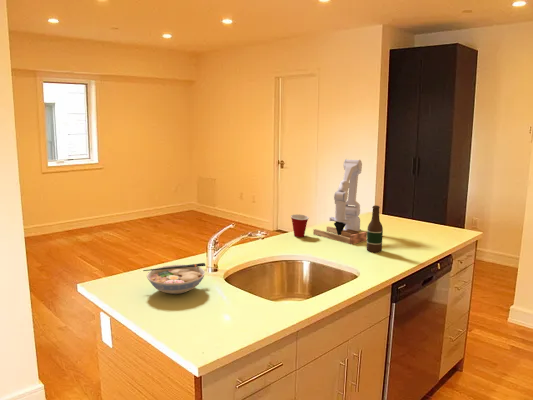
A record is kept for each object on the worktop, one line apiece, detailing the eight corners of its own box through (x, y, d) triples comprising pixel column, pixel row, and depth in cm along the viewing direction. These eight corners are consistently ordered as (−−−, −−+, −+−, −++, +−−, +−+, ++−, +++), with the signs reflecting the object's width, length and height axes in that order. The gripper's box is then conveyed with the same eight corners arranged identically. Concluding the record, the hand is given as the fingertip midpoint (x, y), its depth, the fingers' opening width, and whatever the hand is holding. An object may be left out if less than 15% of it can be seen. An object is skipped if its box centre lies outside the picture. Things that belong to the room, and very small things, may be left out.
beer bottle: (382, 253, 235) (384, 207, 231) (366, 252, 236) (368, 206, 232) (381, 249, 242) (383, 204, 238) (366, 248, 244) (368, 204, 240)
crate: (349, 237, 265) (349, 228, 264) (358, 240, 260) (359, 231, 259) (341, 239, 261) (341, 230, 260) (350, 242, 256) (350, 233, 255)
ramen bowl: (145, 305, 168) (144, 284, 166) (143, 284, 189) (142, 265, 188) (212, 298, 175) (212, 278, 173) (203, 278, 196) (203, 260, 195)
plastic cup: (302, 239, 262) (302, 218, 260) (286, 236, 268) (286, 216, 266) (312, 235, 270) (312, 215, 268) (297, 232, 277) (297, 213, 275)
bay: (328, 230, 282) (328, 223, 281) (366, 240, 260) (367, 232, 259) (313, 234, 274) (313, 226, 273) (351, 244, 251) (352, 235, 250)
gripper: (326, 210, 267) (325, 233, 269) (345, 214, 256) (344, 238, 258) (334, 209, 271) (333, 231, 274) (353, 213, 260) (352, 236, 263)
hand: (339, 234), depth 266 cm, fingers closed
